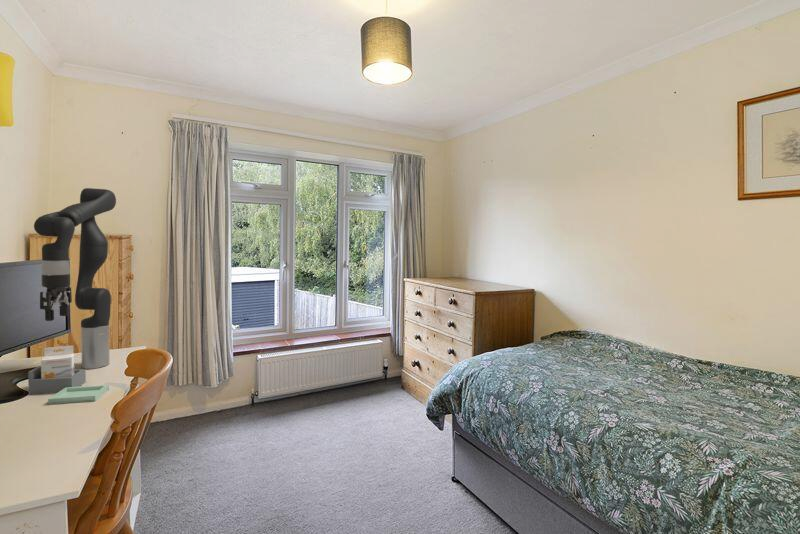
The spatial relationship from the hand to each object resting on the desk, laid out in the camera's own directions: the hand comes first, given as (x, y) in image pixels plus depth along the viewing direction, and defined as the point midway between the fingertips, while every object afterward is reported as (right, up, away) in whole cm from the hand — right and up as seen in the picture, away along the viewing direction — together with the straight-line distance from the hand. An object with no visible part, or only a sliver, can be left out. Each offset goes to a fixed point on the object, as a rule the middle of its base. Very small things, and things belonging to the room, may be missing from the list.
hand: (56, 318), depth 135 cm
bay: (-1, -26, +2) cm, 26 cm away
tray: (+12, -27, -5) cm, 30 cm away
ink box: (-1, -26, +2) cm, 26 cm away
